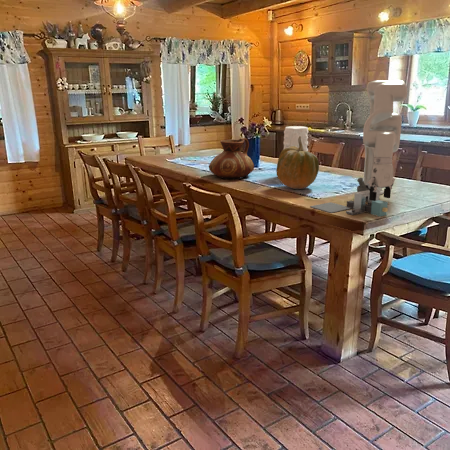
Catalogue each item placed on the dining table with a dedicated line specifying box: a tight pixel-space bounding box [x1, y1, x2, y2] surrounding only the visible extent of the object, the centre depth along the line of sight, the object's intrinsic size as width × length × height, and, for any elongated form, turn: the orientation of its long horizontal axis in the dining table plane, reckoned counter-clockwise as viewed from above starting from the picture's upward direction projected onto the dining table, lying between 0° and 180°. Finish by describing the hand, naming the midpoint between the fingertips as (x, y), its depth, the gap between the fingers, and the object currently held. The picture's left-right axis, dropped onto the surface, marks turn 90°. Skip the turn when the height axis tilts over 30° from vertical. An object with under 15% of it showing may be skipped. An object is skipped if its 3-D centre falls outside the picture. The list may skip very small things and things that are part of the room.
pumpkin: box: [275, 136, 320, 190], centre depth 252 cm, size 23×26×30 cm
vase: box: [282, 125, 310, 152], centre depth 289 cm, size 17×16×32 cm
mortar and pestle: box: [356, 177, 375, 203], centre depth 224 cm, size 11×9×12 cm
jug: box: [208, 137, 255, 180], centre depth 291 cm, size 30×30×25 cm
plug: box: [370, 199, 388, 217], centre depth 198 cm, size 4×6×6 cm
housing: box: [345, 190, 381, 216], centre depth 205 cm, size 22×4×9 cm, turn 123°
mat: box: [309, 202, 353, 214], centre depth 212 cm, size 14×14×1 cm
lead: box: [346, 200, 371, 214], centre depth 208 cm, size 3×16×3 cm, turn 33°
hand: (379, 199), depth 198 cm, fingers open, 9 cm apart
